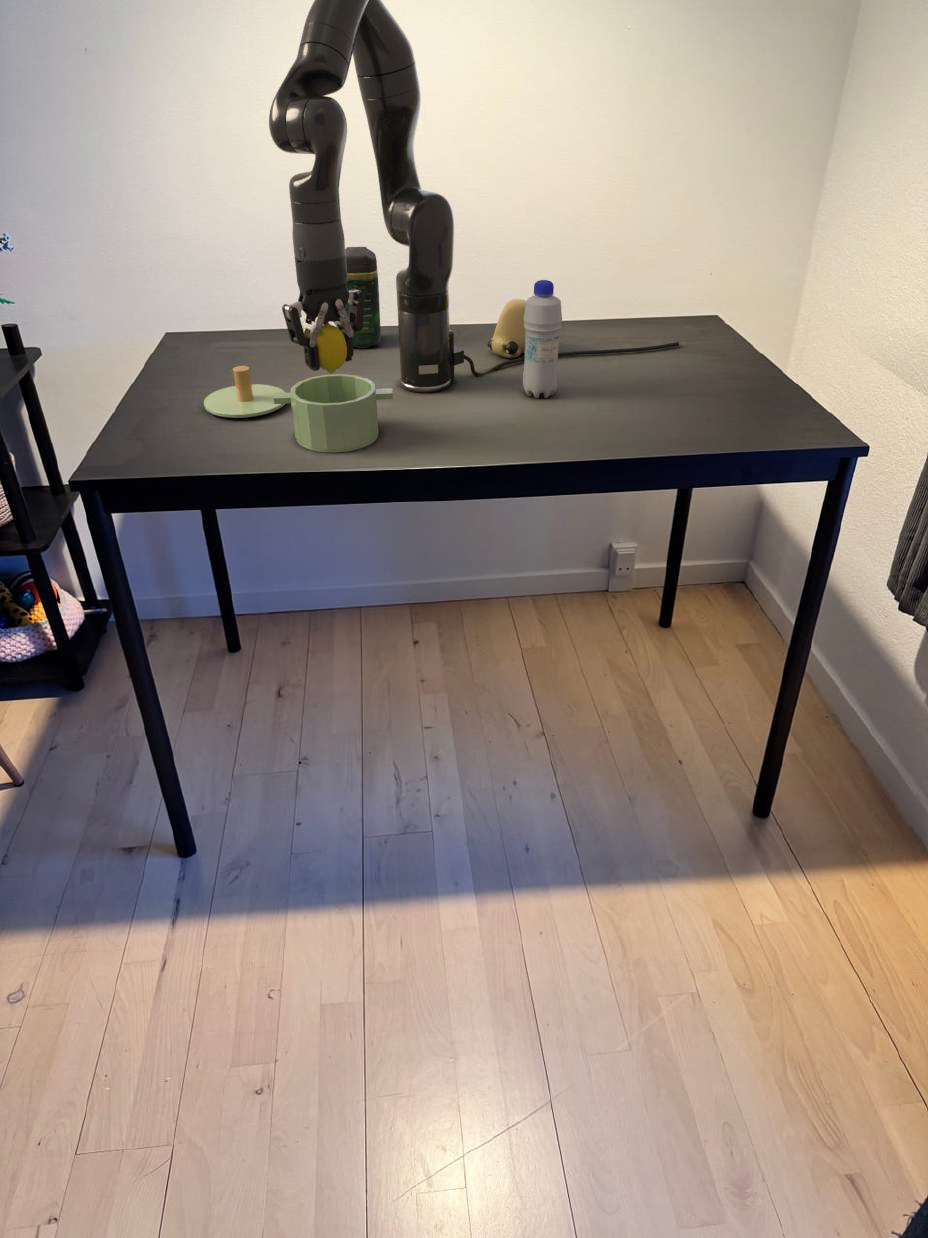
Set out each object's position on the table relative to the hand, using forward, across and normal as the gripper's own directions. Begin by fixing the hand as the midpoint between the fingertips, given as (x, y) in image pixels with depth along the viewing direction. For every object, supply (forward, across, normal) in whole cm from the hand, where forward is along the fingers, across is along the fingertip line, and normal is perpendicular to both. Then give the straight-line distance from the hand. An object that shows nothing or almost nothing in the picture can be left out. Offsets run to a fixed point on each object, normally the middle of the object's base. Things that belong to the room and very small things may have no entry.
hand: (330, 364), depth 140 cm
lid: (+11, +4, -22) cm, 25 cm away
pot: (+12, 0, 0) cm, 12 cm away
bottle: (+12, -38, +10) cm, 41 cm away
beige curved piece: (+12, -51, -9) cm, 53 cm away
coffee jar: (+12, -32, -36) cm, 50 cm away
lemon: (+2, 0, 0) cm, 2 cm away
